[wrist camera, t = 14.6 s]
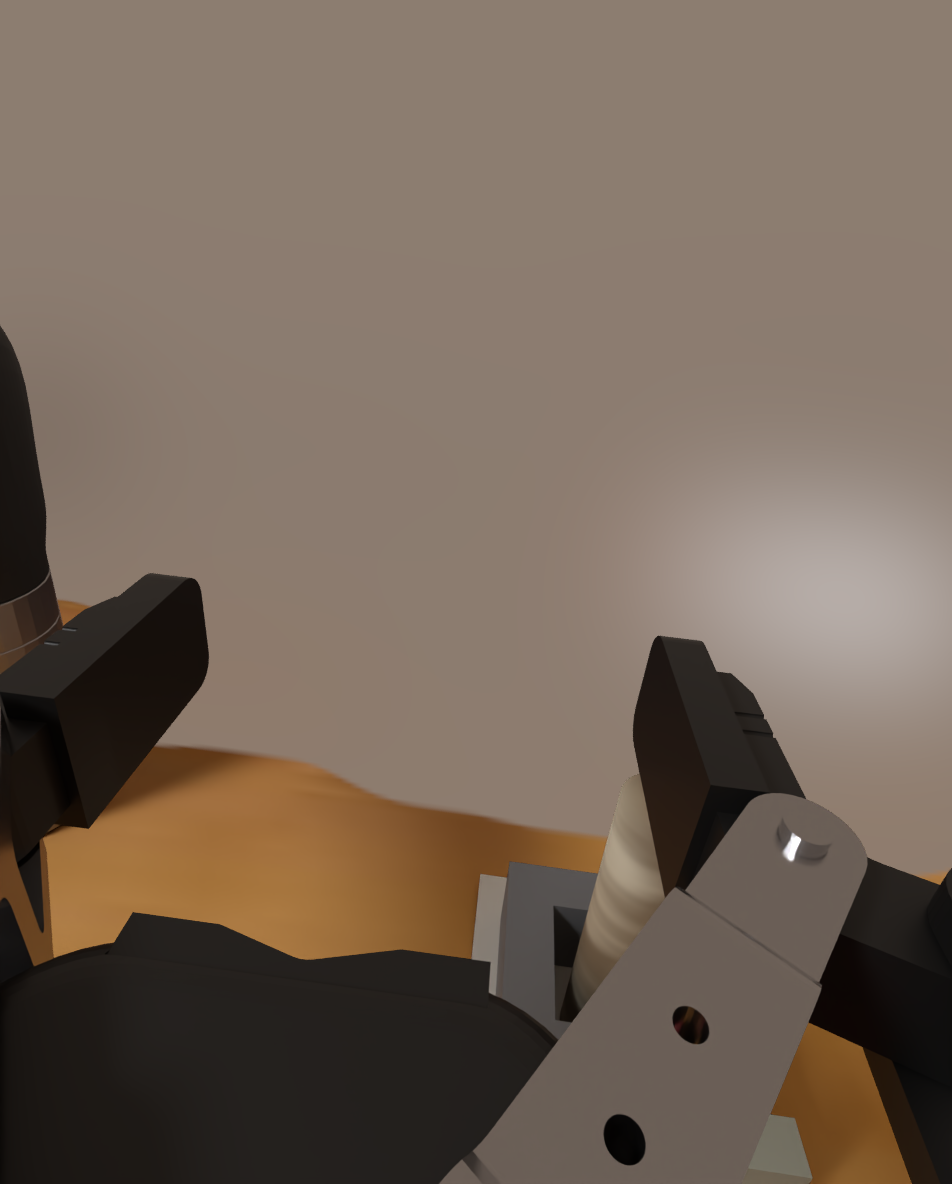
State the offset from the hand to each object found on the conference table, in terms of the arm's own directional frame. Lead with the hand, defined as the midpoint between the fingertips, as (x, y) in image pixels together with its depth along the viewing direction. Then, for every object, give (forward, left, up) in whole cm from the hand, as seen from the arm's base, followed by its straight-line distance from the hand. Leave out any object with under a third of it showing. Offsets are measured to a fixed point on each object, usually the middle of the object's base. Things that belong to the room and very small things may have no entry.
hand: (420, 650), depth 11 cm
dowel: (+9, +11, -29) cm, 33 cm away
